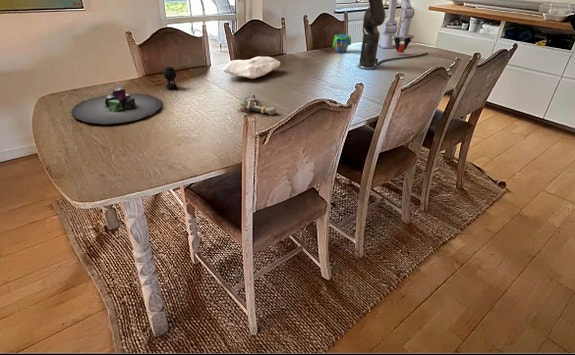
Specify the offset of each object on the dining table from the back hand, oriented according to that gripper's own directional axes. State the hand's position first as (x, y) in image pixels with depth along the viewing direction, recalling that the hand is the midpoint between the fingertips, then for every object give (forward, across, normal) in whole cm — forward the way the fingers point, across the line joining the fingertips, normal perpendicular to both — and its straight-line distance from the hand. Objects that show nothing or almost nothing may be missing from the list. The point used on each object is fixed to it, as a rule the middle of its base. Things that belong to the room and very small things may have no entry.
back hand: (400, 49), depth 246 cm
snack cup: (+3, -39, +10) cm, 40 cm away
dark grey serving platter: (+3, -166, -80) cm, 184 cm away
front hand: (-35, -55, 0) cm, 65 cm away
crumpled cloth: (+3, -106, -38) cm, 112 cm away
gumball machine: (+3, -146, -56) cm, 156 cm away
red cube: (+1, 0, 0) cm, 1 cm away
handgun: (+3, -107, -85) cm, 137 cm away
